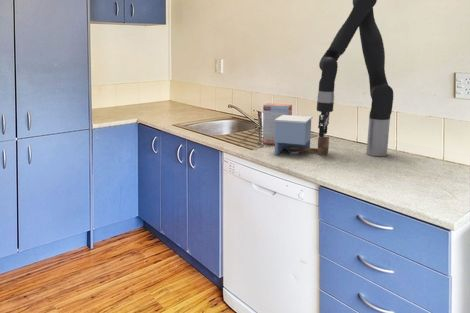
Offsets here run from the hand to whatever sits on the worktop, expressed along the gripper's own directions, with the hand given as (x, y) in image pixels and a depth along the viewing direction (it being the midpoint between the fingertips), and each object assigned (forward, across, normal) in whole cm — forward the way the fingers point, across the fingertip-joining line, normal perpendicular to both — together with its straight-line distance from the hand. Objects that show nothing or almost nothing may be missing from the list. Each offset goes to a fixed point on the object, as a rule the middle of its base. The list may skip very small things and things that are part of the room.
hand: (322, 135), depth 204 cm
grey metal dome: (+10, -4, +12) cm, 16 cm away
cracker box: (+10, +12, +25) cm, 30 cm away
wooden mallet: (+9, 0, +7) cm, 11 cm away
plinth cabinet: (+9, -3, +13) cm, 17 cm away
